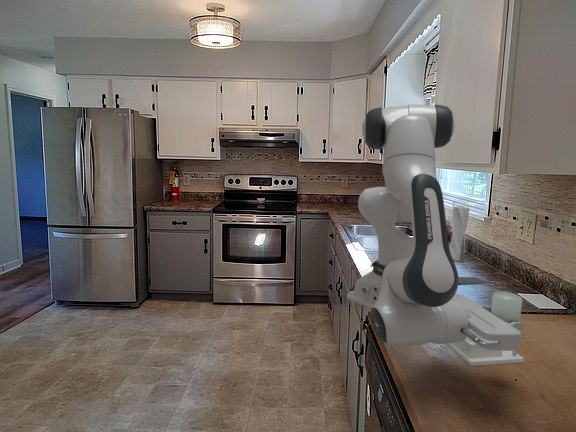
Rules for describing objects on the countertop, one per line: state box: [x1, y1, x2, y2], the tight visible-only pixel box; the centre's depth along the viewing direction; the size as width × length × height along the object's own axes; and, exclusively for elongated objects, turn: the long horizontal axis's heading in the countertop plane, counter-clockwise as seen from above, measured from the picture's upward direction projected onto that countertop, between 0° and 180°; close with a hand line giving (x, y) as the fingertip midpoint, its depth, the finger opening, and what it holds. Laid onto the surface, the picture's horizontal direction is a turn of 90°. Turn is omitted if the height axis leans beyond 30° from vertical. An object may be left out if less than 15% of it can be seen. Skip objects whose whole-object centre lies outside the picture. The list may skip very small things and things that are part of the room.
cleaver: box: [458, 276, 487, 286], centre depth 154 cm, size 29×10×2 cm, turn 103°
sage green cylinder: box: [491, 290, 523, 324], centre depth 83 cm, size 6×6×11 cm
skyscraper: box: [449, 201, 470, 264], centre depth 185 cm, size 8×8×28 cm
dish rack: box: [445, 337, 525, 367], centre depth 98 cm, size 14×12×8 cm
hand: (508, 317), depth 83 cm, fingers closed on sage green cylinder, 5 cm apart
